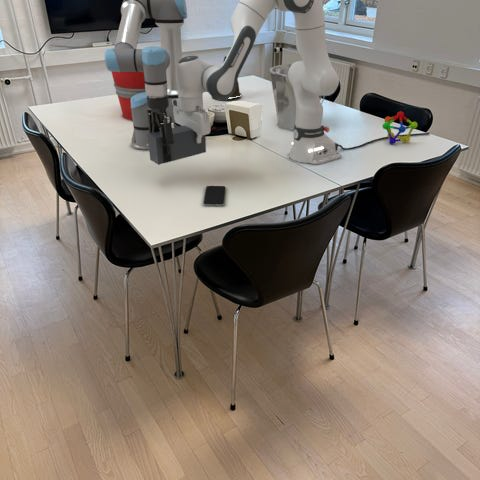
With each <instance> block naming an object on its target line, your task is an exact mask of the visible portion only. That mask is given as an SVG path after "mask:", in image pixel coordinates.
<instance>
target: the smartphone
mask: <svg viewBox="0 0 480 480" xmlns="http://www.w3.org/2000/svg"><path fill="white" fill-rule="evenodd" d="M225 197H226V186H225V185H207V186H206V187H205V192H204V196H203V206H208V207H209V206H210V207H213V206H214V207H222V206H224V205H225Z"/></svg>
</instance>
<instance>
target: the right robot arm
mask: <svg viewBox="0 0 480 480" xmlns="http://www.w3.org/2000/svg"><path fill="white" fill-rule="evenodd" d="M274 9H275V10H279V11H281V12H291V13H292V15H293V17H294V31H295V32H294V33H295V44H296V45H295V46H296V48H295V49H296V51H297V53H298V55H299V56H300V57H301V59H302V60H297V61H295V62H293V63H291V64H292V65H291V67H290V68H289V71H288V79H289V81H290V83H291V84H292V87H293V90H294V95H295V100H296V122H295V125H294V130H293V141H292V142H291V145H292V146H291V150H290V152H289V154H288V156H289V158H290V159H291V160H292V161H294V162H298V163H303V164H310V165H320V164H324V163H327V162H331V161H333V160H337V159H341V153H339V151H338V148H339V147H340V149H341V150H343V151H350V150H354V149H358V148H362V147H364V146H366V145H368V144H372V143H374V142H377V141H381V140H385V139H389V138H388V136H383V137H379V138H376V139H372V140H369V141H366V142H364V143H362V144H359V145H356V146H352V147H347V148H346V147H343V145H341V144H339V143H338V142H334V140H333V139H332V138H330V137H329V136H328V135H327V134H326V133H329V132H330V128H329V127H328V126H326V125H325V126H324V125H323V116H324V115H323V114H324V106H323V103H322V101H320V100H319V96H318V95H320V96H322V97H323V96H324V97H327V96H331V95H333V94H334V93H335V92H336V91H337V89H338V87H339V83H340V78H339V74H338V73H337V71H336V70H335V69H334V67H333V65H332V61H331V59H330V56H329V52H328V48H327V42H326V24H325V23H326V20H325V10H324V4H323V1H322V0H239V1H238V2H237V5H236V6H235V8H234V10H233V13H232V14H231V15H232V16H231V18H230V28H231V30H232V34H233V41H232V42H233V43H232V46H231V48H230V49H229V52H228V54H227V55H226V59H225V61H224V60H223V62H224V63H222V65H220V66H219V65H217V64H215V63H211V62H208V61H205V60H204V59H202V58H200V57H199V56H198V55H187V56H184V57H182V59H180V60H179V62H178V66H177V83H178V87H179V93H178V98H177V99H173V100H172V104H173V105H174V107H173V113H174V120H175V122H176V123H175V124H178V125H180V126H186V127H188V128H190V129H192V130H193V131H194V132H196V135H197V138H195V142H196V143H201V138H202V136H203V135H205V136H206V135H209V134H211V131H212V129H211V127H212V126H211V121H210V116H209V114H208V112H207V111H206V110H207V109H205V108H204V95H203V94H204V93H208V94H209V95H210V96H211V98H212V97H213V98H212V99H214V100H217V101H222V100H223V101H227V100H226V99H228V98H229V97H231V96H232V95H233V93H234V91H235V89H236V85H237V79H239V76H240V73H241V71H242V69H243V67H244V65H245V63H246V61H247V59H248V57H249V55H250V53H251V51H252V49H253V47H254V44H255V42H256V39H257V37H258V34H259V33H260V31H261V29H262V28H263V26H264V25H265V22H266V20H267V19H268V17H269V14H270V13H272V11H273V10H274ZM321 103H322V104H321ZM407 135H408V133H406V134H399V136H400V137H404V136H407ZM424 135H430V132H420V133H419V132H418V133H411V134H410V136H412V137H413V136H424ZM410 136H409V137H410Z"/></svg>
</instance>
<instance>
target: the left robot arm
mask: <svg viewBox="0 0 480 480" xmlns="http://www.w3.org/2000/svg"><path fill="white" fill-rule="evenodd" d="M187 8H188V7H187V3H186V0H123V1H122V3H121V7H120V14H121V20H120V21H119V22H120V23H119V27H118V31H117V35H116V40H115V43H114V47H112V48H107V49H105V51H104V64H105V67H106V69H107V70H108V71H109V72H111V71H113V72H144V77H145V90H146V92H143V93H139V94H136V95H134V96H133V97H132V98H131V111H132V118H133V120H132V125H133V132H132V135H131V147H132V148H134V149H135V150H141V151H149V143H148V133H152V132H157V131H161V135H162V139H163V143H164V144H163V145H162V146H163V156H164V162H165V163H164V164H167V163H171V162H172V161H171V149H170V145H172V144H174V141H173V132H172V128H173V124H177V123H176V122H175V120H174V113H173V107H174V105H173V104H172V100H173V99H177V98H178V93H179V87H178V83H177V66H178V62H179V60H180V59H182V58H183V50H182V32H181V30H182V29H181V28H182V27H183V25H184V24H185V19H187V18H188V9H187ZM146 19H154V20H155V21H154V22H155V25H156V26H157V27H158V28H159V36H160V37H159V39H160V46H157V45H156V46H145V47H142V48H137V47H138V43H139V37H140V33H141V28H142V23H143V22H145V20H146ZM170 161H171V162H170ZM166 162H167V163H166Z"/></svg>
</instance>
